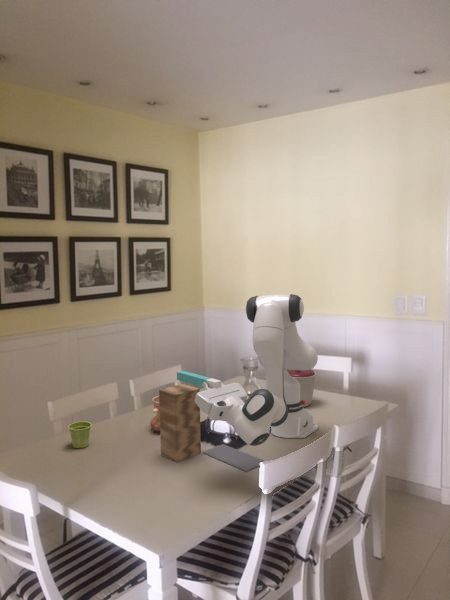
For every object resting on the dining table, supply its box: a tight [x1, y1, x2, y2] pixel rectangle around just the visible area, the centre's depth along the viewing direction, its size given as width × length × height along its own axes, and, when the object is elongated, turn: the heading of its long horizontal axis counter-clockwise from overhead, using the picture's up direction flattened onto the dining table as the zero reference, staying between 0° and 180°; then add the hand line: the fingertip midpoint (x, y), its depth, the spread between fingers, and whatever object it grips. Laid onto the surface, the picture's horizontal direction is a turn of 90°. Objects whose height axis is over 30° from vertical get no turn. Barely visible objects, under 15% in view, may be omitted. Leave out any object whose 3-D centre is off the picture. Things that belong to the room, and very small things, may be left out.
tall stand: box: [158, 383, 202, 463], centre depth 195 cm, size 12×10×26 cm
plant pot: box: [67, 421, 93, 449], centre depth 206 cm, size 9×9×9 cm
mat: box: [202, 443, 265, 473], centre depth 192 cm, size 11×24×1 cm, turn 43°
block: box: [176, 370, 222, 389], centre depth 185 cm, size 3×22×3 cm, turn 43°
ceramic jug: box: [149, 395, 160, 433], centre depth 223 cm, size 18×14×14 cm
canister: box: [287, 369, 317, 408], centre depth 255 cm, size 18×18×21 cm
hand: (208, 381), depth 180 cm, fingers closed on block, 3 cm apart
